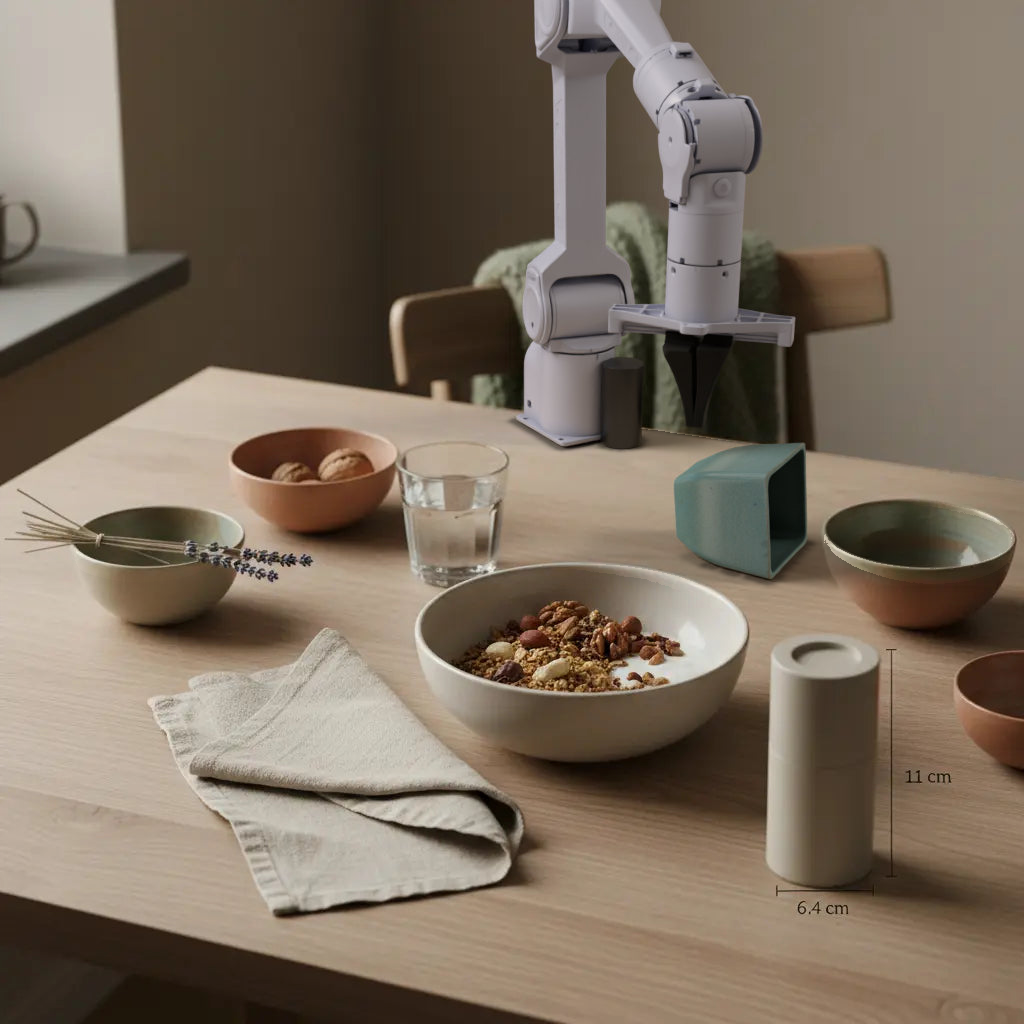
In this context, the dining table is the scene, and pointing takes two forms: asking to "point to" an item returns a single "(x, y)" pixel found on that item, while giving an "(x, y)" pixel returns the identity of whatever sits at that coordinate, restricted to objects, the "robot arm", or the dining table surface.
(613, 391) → the cylinder
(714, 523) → the flower pot
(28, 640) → the dining table surface
